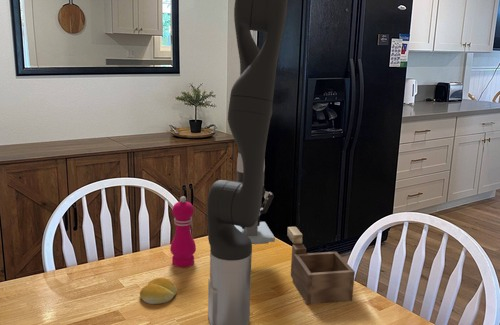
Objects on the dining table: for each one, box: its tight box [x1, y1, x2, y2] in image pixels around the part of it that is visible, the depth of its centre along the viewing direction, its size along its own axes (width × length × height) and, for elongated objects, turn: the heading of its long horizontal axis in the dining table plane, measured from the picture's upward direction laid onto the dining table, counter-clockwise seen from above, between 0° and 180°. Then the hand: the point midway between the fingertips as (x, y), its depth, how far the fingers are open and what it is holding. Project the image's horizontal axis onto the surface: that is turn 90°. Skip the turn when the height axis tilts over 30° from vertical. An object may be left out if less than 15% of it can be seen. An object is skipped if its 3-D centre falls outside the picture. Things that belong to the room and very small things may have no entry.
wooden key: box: [286, 226, 303, 245], centre depth 137 cm, size 2×6×2 cm, turn 12°
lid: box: [234, 219, 276, 245], centre depth 139 cm, size 12×12×7 cm
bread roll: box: [139, 277, 177, 305], centre depth 123 cm, size 8×9×4 cm
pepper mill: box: [170, 195, 197, 268], centre depth 140 cm, size 7×7×20 cm
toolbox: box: [290, 243, 356, 306], centre depth 129 cm, size 12×15×9 cm
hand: (249, 227), depth 139 cm, fingers closed on lid, 3 cm apart
